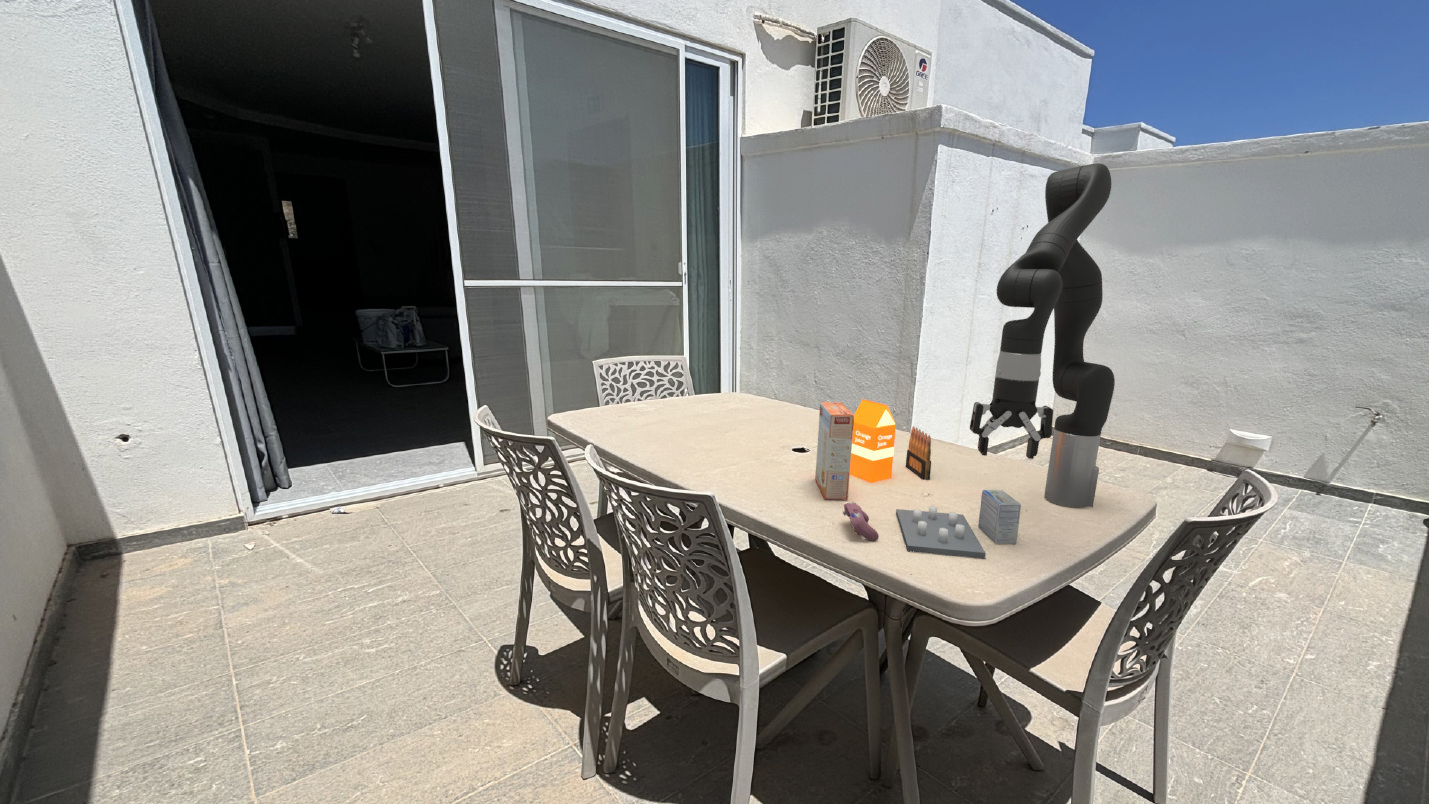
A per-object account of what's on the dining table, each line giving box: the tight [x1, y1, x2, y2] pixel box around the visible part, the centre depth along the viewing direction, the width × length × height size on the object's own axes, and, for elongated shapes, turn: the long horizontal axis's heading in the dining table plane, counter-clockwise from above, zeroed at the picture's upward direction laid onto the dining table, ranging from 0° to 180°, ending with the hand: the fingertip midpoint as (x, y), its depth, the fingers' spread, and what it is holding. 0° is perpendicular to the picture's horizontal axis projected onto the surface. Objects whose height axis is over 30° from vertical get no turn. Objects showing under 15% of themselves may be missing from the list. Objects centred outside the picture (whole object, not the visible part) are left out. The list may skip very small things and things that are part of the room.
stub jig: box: [895, 505, 987, 560], centre depth 117 cm, size 14×18×4 cm
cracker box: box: [814, 401, 854, 501], centre depth 139 cm, size 14×6×21 cm, turn 179°
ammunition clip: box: [905, 425, 932, 481], centre depth 153 cm, size 11×2×12 cm, turn 7°
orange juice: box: [849, 398, 897, 484], centre depth 150 cm, size 8×9×20 cm
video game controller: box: [842, 501, 880, 542], centre depth 118 cm, size 10×5×7 cm, turn 178°
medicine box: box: [977, 489, 1022, 545], centre depth 116 cm, size 8×4×9 cm, turn 179°
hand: (1006, 456), depth 113 cm, fingers open, 8 cm apart
